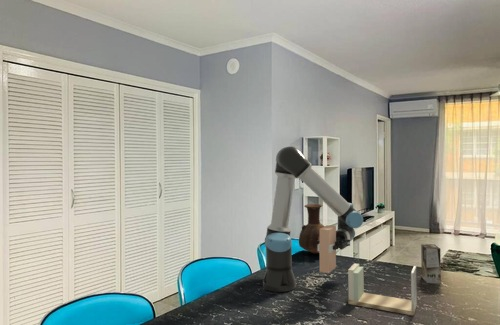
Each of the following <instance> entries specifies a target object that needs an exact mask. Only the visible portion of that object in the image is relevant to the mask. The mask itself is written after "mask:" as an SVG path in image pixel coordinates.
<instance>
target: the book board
mask: <svg viewBox="0 0 500 325" xmlns="http://www.w3.org/2000/svg"><path fill="white" fill-rule="evenodd" d="M417 302H418V301H417ZM417 302H416V306H415V309H414V311H412V305H411V299H405V298H400V297H393V296H387V295H381V294H375V293H370V292H369V293H368V292H364V294H363V295H362V297H361V298H360V299H359V301H355V300H349V299H348V305H353V306H359V307H360V306H361V307H365V308H371V309H375V310H382V311H387V312H392V313H398V314H404V315H409V316H415V313H416V310H417V309H416V308H417V306H418V304H417Z"/></svg>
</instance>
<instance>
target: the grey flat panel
mask: <svg viewBox="0 0 500 325" xmlns="http://www.w3.org/2000/svg"><path fill="white" fill-rule="evenodd" d="M410 283H411V285H410V292H411V293H410V294H411V299H410V300H411V305H412V311H414V309H415V306H416V302H418V301H417V300H418V299H417V298H418V297H417V295H418V294H417V293H418V292H417V291H418V290H417V265H413V268H412V269H411V272H410ZM416 307H417V306H416Z"/></svg>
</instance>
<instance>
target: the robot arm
mask: <svg viewBox="0 0 500 325" xmlns="http://www.w3.org/2000/svg"><path fill="white" fill-rule="evenodd" d="M275 162H276V164H275V170H274V174H275V175H276V187H275V192H274V199H273V205H272V214H271V220H270V221H271V222H270V224H269V225H268V226H267V228H266V233H265V234H266V235H265V237H264V246H265V254H266V255H265V256H266V260H265V261H266V270H265V273H264V277H263V280H262V287H263V288H264V290H266V291H269V292H275V293H284V292H290V291H294V289H296V288H297V281H296V278H295V275H294V271H293V265H292V264H293V262H292V261H293V257H292V256H293V255H292V251H293V250H292V249H293V248H292V245H293V242H292V237H291V231H292V230H291V228H290V227H289V224H290V223H289V222H290V216H291V215H290V214H291V207H292V202H293V201H292V200H293V196H294V195H293V192H294V188H295V180H296V179H300V181H301V182H303V183H304V184H305V185H306V186H307V187H308V188H309V189H310V190H311V191H312V192H313V193H314V194H315V195H316V197H318V198H319V199H320V200H321V201H323V203H324V204H325V205H326V206H327V207H329V209H331V210H332V212H334V213H335V215H336V216H337V229H336V242H335V243H333V244H331V245H330V246H329V253H331V252H332V251H334V250H336V251H337V250H338V249H339V250H341V251H342V250H344V249H346V248H347V247H350V246H351V242H352V241H353V240H354V238H355V236H356V230H355V229H358V228H361V226H363V223H364V217H363V215H362V214H361V213H360V212H359V211H357V210H356V209H355V208H354V204H353V203H351V202H348V201H347V200H346V199H345V198H344V197H343V196H342V195H341V194H340V193H339V192H338V191H337V190H336V189H335V188H334V187H332V185H331V184H330V183H329V182H328V181H327V180H326V179H324V177H323V176H322V175H321V174H319V173H318V172H317V171H316V170H315V169H314V168H313V167H312V163H311V162H310V161H309V159H307V157H305V155H304V154H303V152H302V151H300V149H298V148H297V147H296V146H286V147H283V148H281V149H280V150H279V151H278V152H277V153H276V158H275ZM317 247H318V251H320V239H319V240H317Z"/></svg>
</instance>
